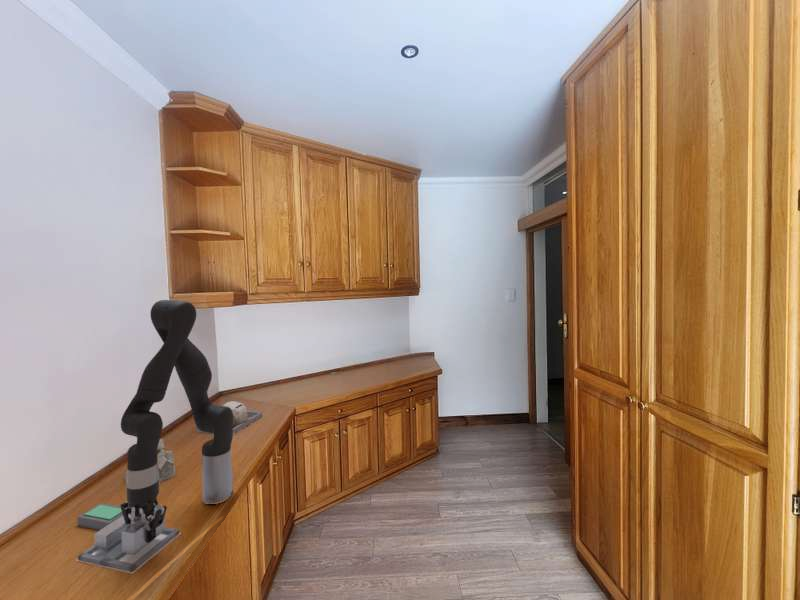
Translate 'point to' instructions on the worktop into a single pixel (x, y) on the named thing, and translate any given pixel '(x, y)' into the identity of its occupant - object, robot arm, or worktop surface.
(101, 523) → the box
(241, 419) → the coin bank
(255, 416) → the coin bank tray
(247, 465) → the worktop surface
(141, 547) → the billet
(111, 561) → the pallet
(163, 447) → the ceramic cottage
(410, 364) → the worktop surface
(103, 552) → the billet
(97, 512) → the button
